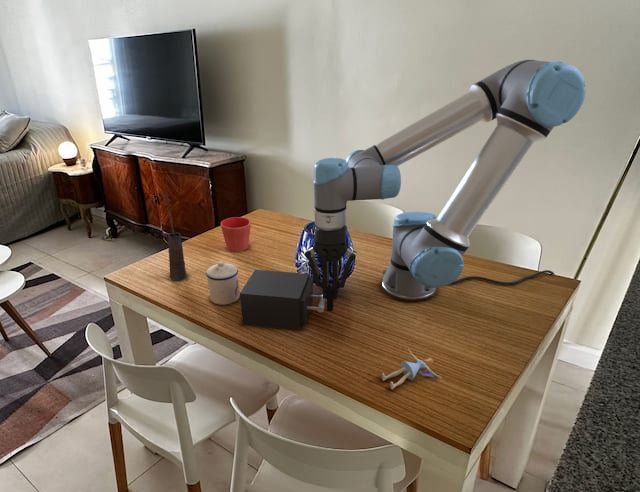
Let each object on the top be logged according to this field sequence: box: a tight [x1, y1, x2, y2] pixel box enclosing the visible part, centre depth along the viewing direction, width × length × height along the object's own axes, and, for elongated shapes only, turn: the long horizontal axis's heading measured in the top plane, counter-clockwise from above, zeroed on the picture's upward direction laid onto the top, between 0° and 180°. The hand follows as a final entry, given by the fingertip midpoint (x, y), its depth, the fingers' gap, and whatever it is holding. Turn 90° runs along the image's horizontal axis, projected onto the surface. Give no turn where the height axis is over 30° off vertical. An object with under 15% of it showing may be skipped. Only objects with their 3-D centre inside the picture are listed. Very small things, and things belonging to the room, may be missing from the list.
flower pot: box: [220, 216, 252, 252], centre depth 162 cm, size 11×11×10 cm
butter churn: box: [165, 190, 187, 281], centre depth 138 cm, size 9×10×28 cm
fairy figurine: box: [381, 347, 443, 390], centre depth 99 cm, size 12×5×12 cm
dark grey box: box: [239, 269, 310, 331], centre depth 122 cm, size 16×14×10 cm
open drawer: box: [300, 277, 327, 328], centre depth 121 cm, size 19×12×8 cm, turn 76°
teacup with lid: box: [205, 260, 240, 306], centre depth 131 cm, size 12×9×12 cm
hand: (330, 308), depth 120 cm, fingers closed
